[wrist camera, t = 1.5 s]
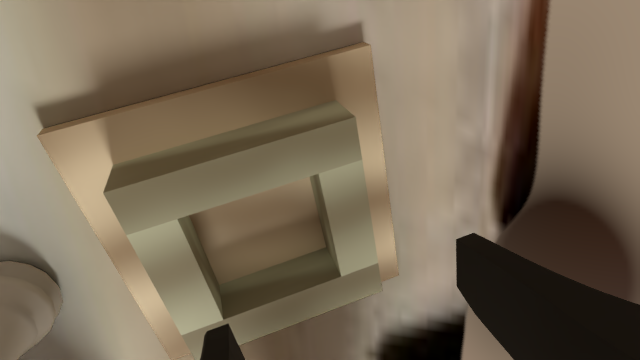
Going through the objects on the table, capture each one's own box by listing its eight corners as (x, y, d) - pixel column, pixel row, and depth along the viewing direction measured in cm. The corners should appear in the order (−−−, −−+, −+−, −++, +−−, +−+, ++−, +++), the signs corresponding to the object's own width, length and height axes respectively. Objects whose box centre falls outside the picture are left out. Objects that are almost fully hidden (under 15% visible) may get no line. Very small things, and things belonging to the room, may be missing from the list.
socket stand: (392, 267, 26) (418, 303, 23) (171, 349, 23) (170, 401, 21) (363, 42, 19) (395, 55, 16) (42, 128, 16) (13, 161, 14)
